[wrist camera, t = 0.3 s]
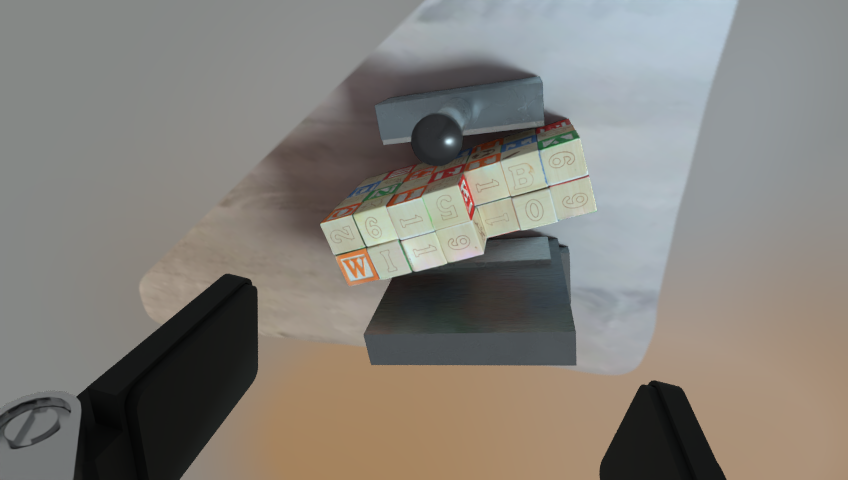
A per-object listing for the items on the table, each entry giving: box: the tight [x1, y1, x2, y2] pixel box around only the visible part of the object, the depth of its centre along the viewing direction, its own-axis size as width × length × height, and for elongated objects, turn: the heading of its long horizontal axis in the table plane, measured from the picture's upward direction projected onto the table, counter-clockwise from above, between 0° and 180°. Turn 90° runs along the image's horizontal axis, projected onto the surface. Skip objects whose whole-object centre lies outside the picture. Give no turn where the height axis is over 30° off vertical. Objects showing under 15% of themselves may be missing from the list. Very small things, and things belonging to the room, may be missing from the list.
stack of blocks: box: [320, 119, 597, 286], centre depth 40 cm, size 21×6×12 cm, turn 110°
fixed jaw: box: [364, 237, 576, 365], centre depth 42 cm, size 8×18×16 cm, turn 99°
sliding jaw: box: [375, 76, 544, 166], centre depth 35 cm, size 4×14×16 cm, turn 100°
